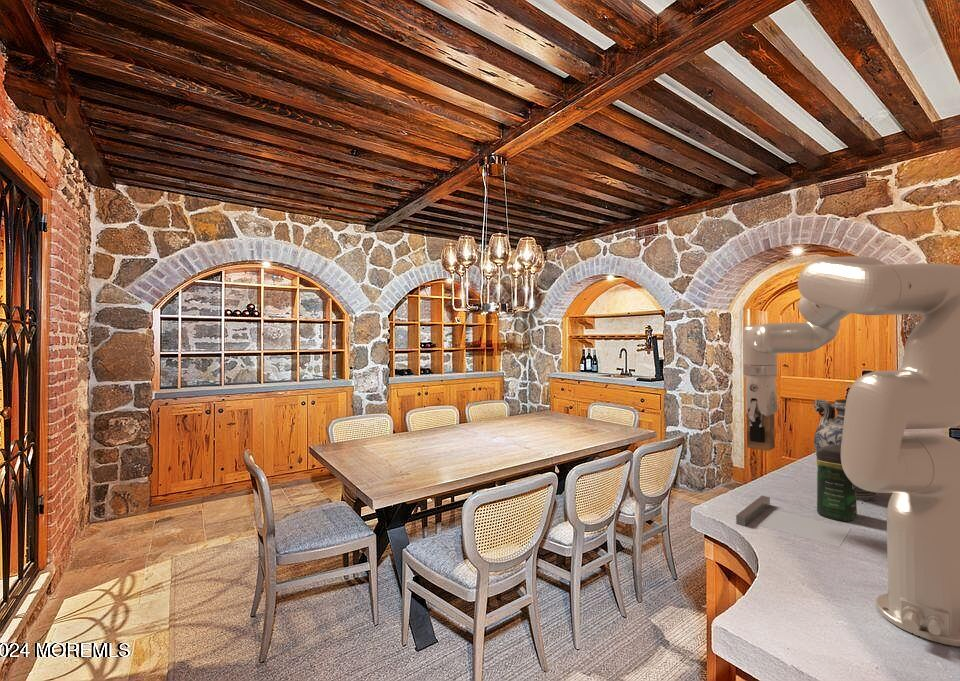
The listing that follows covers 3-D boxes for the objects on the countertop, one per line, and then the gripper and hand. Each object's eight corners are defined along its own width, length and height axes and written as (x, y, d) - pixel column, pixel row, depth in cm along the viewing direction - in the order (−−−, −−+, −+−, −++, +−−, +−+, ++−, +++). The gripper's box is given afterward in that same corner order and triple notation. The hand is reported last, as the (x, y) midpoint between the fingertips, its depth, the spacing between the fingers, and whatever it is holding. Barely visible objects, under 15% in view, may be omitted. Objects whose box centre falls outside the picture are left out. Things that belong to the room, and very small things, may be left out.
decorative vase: (918, 500, 124) (915, 402, 124) (880, 512, 117) (876, 409, 117) (834, 479, 144) (831, 394, 143) (797, 488, 137) (794, 399, 137)
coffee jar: (852, 525, 109) (851, 452, 109) (813, 516, 115) (812, 446, 115) (860, 515, 115) (859, 445, 115) (823, 506, 121) (822, 440, 121)
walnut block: (768, 450, 112) (768, 412, 112) (747, 447, 115) (746, 410, 115) (774, 447, 115) (774, 409, 115) (753, 444, 119) (753, 407, 119)
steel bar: (745, 527, 109) (744, 517, 109) (736, 525, 111) (736, 515, 111) (770, 506, 123) (769, 497, 123) (762, 504, 124) (761, 495, 124)
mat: (838, 548, 98) (838, 547, 98) (758, 526, 110) (758, 525, 110) (850, 529, 107) (850, 528, 107) (775, 511, 119) (775, 510, 119)
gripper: (765, 374, 107) (767, 448, 107) (786, 370, 118) (787, 436, 118) (732, 373, 112) (733, 443, 112) (754, 368, 123) (755, 432, 124)
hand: (761, 439), depth 115 cm, fingers closed on walnut block, 5 cm apart
